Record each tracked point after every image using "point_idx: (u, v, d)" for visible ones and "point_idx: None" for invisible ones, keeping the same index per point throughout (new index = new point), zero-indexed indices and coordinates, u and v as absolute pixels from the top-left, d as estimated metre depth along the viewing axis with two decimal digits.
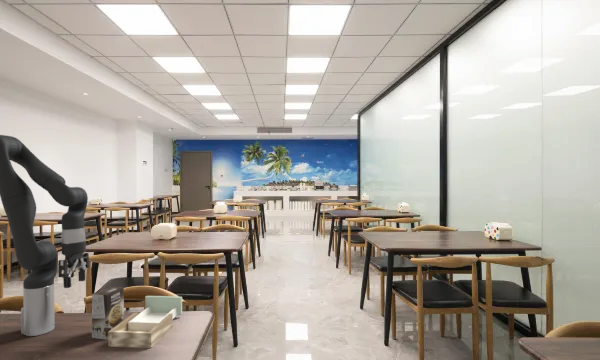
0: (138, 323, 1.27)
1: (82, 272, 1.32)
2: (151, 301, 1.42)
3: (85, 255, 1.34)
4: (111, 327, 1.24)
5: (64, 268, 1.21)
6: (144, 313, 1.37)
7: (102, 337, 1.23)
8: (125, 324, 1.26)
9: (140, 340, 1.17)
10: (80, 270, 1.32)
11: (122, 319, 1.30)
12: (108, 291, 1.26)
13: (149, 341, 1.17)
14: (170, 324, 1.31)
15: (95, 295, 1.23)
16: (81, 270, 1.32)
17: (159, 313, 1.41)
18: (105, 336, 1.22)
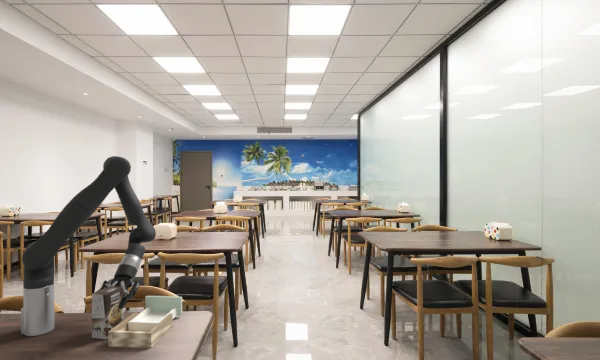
0: (138, 323, 1.27)
1: None
2: (151, 301, 1.42)
3: None
4: (111, 327, 1.25)
5: (136, 290, 1.34)
6: (144, 313, 1.37)
7: (102, 337, 1.23)
8: (125, 324, 1.26)
9: (140, 340, 1.17)
10: None
11: (122, 319, 1.30)
12: (108, 291, 1.26)
13: (149, 341, 1.17)
14: (170, 324, 1.31)
15: (95, 295, 1.23)
16: None
17: (159, 313, 1.41)
18: (105, 336, 1.22)
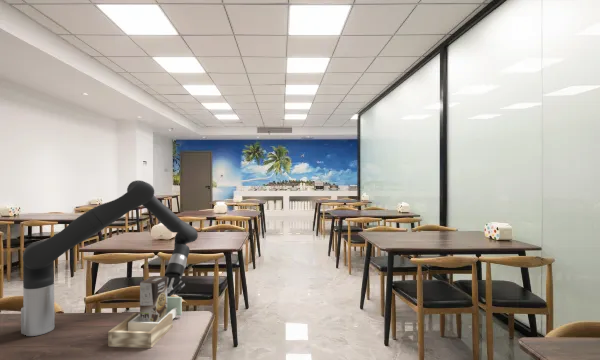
0: (138, 323, 1.26)
1: None
2: None
3: None
4: (158, 314, 1.32)
5: (180, 289, 1.48)
6: None
7: None
8: (125, 324, 1.26)
9: (140, 340, 1.17)
10: None
11: (166, 307, 1.37)
12: (154, 280, 1.33)
13: (149, 341, 1.17)
14: (170, 324, 1.31)
15: (143, 283, 1.30)
16: None
17: None
18: None
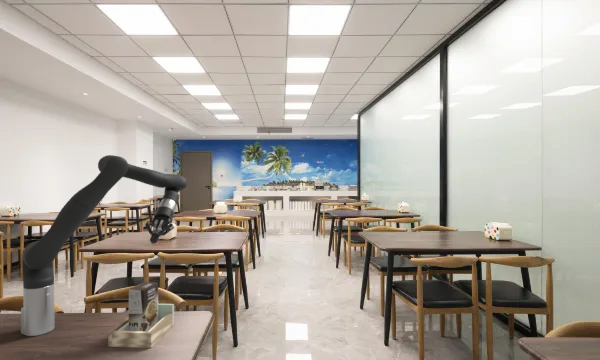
0: None
1: None
2: None
3: None
4: (147, 322, 1.24)
5: (168, 231, 1.51)
6: None
7: None
8: None
9: (140, 340, 1.17)
10: None
11: (157, 314, 1.30)
12: (144, 286, 1.25)
13: (149, 341, 1.17)
14: (170, 324, 1.31)
15: (132, 290, 1.23)
16: None
17: None
18: None
